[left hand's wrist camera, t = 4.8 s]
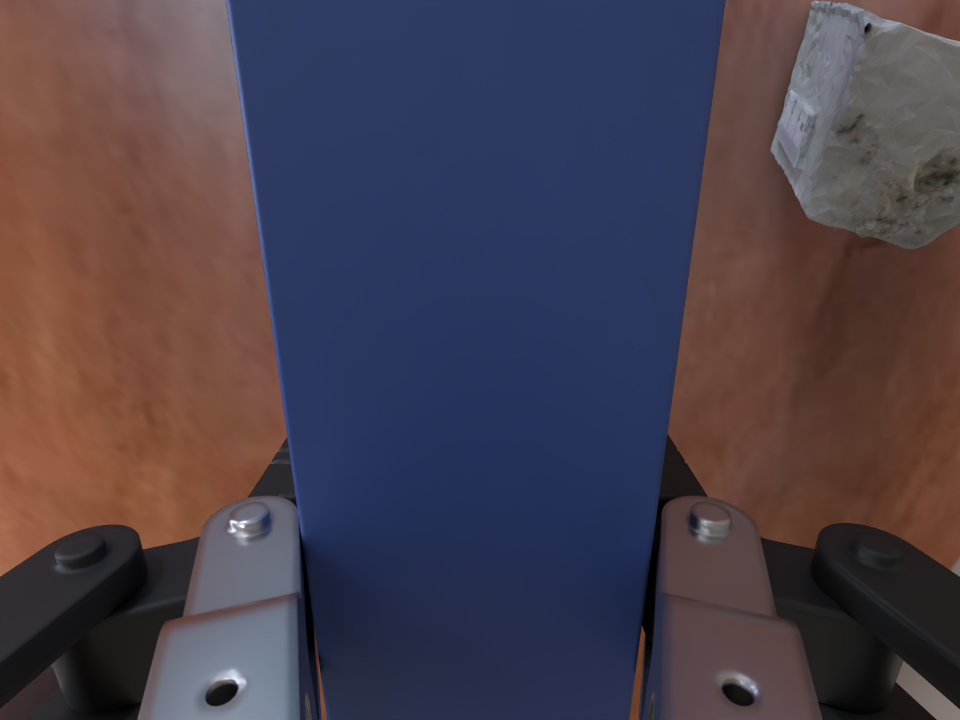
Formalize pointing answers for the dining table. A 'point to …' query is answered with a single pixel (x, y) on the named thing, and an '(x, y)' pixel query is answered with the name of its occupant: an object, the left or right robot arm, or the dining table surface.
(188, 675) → the left robot arm
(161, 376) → the dining table surface
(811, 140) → the mineral specimen
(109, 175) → the dining table surface
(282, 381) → the bar
